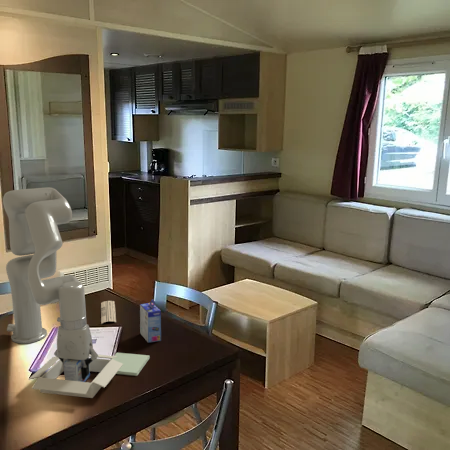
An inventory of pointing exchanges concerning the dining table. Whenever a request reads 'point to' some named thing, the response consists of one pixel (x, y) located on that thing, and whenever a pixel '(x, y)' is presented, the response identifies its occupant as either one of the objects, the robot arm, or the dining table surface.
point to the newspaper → (108, 311)
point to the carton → (75, 388)
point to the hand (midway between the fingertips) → (77, 375)
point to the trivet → (131, 363)
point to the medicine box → (74, 370)
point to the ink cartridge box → (150, 322)
